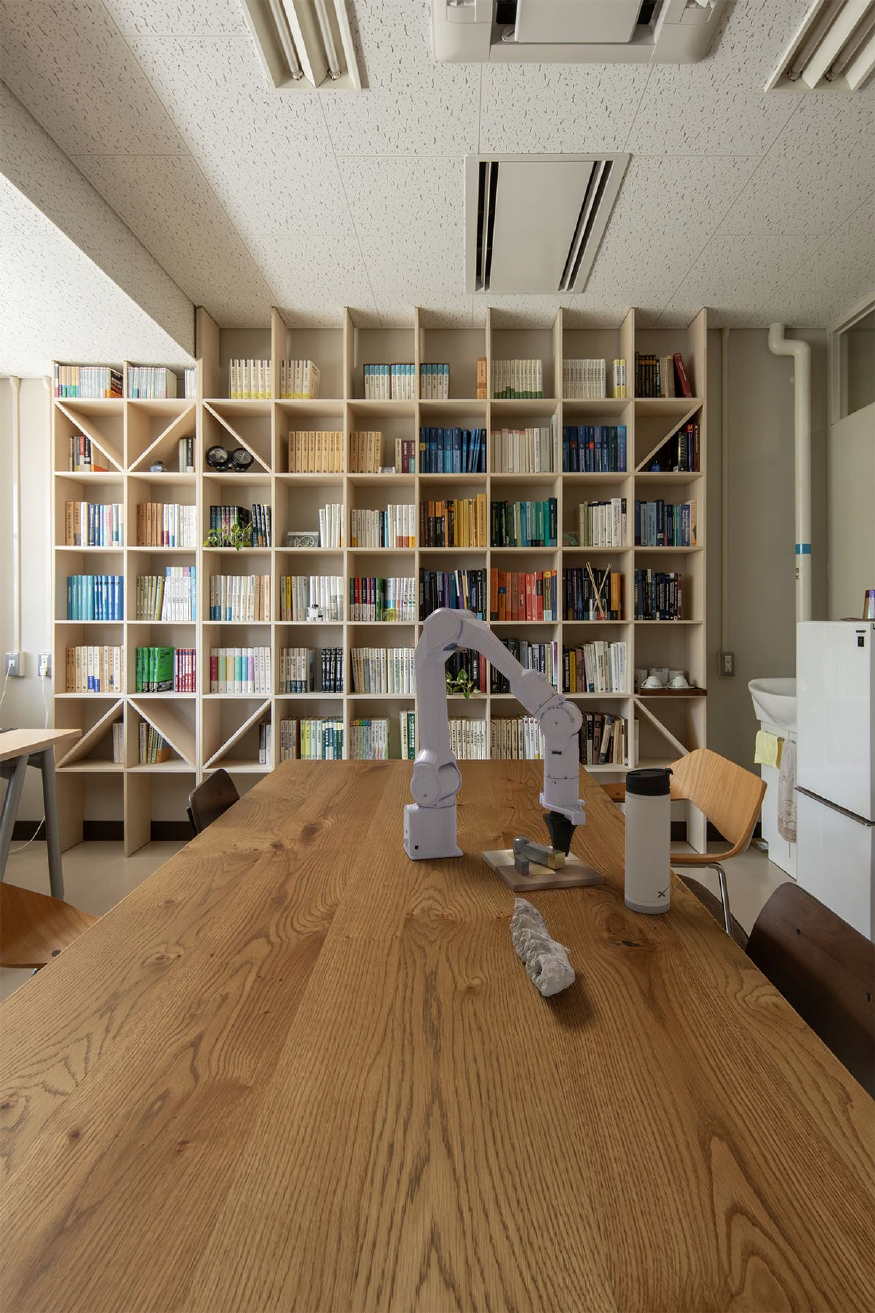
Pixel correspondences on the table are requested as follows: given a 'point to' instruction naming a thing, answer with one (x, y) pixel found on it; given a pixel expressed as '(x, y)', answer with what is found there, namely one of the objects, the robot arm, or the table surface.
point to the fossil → (540, 950)
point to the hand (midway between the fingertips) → (561, 856)
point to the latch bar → (538, 852)
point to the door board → (539, 871)
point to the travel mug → (647, 840)
